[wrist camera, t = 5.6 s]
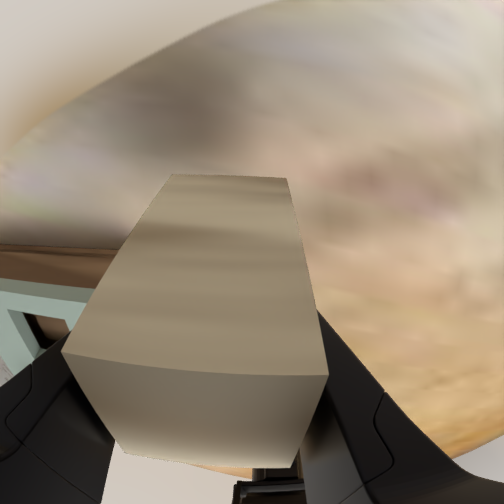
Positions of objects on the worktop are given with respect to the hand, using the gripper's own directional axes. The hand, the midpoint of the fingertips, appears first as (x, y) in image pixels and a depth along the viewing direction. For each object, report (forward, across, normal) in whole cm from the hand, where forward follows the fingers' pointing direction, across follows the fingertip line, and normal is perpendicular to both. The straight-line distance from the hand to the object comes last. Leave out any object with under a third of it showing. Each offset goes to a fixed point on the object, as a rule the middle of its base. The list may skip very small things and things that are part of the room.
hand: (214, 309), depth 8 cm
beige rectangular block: (+4, 0, 0) cm, 4 cm away
